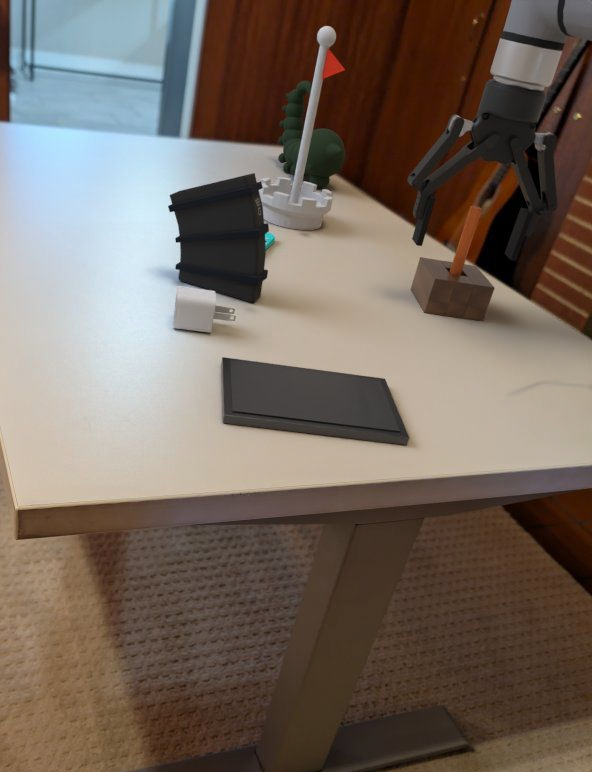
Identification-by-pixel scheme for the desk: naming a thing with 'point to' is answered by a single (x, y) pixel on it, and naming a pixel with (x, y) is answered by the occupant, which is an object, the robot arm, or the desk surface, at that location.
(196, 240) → the magazine
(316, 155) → the toy figurine
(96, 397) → the desk surface
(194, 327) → the usb wall charger
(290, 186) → the flag stand
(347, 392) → the tablet
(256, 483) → the desk surface
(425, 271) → the pen stand
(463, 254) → the orange rod
